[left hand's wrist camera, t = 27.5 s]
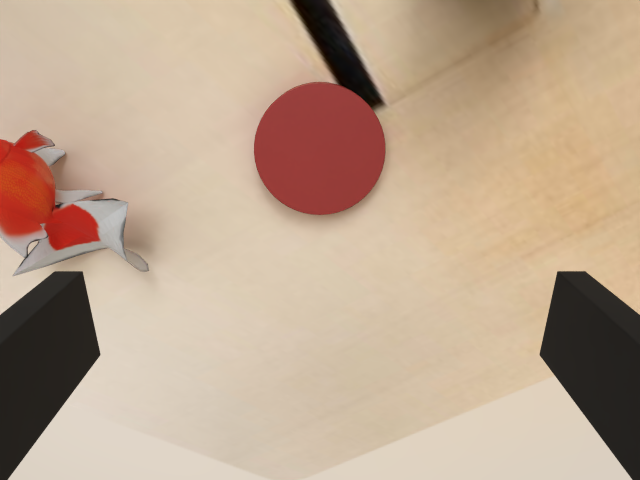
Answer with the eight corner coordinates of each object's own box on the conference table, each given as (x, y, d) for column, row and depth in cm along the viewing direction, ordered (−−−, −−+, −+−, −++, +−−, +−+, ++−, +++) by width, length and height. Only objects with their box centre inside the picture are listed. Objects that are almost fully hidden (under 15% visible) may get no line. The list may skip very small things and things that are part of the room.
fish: (59, 64, 30) (-29, 168, 24) (199, 211, 41) (161, 308, 35) (-35, 107, 35) (-129, 205, 29) (114, 231, 45) (68, 320, 40)
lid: (240, 102, 36) (236, 104, 34) (366, 66, 35) (369, 66, 33) (278, 219, 39) (276, 228, 38) (393, 190, 38) (397, 197, 37)
